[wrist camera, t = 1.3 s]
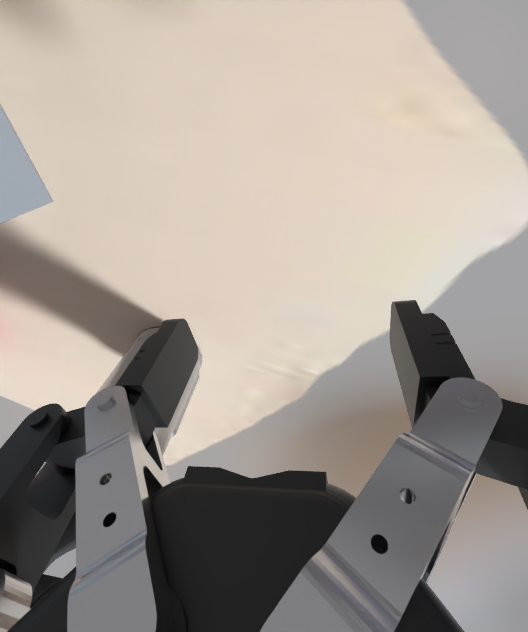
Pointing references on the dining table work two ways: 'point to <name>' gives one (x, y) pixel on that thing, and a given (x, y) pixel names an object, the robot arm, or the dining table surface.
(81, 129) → the dining table surface
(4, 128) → the stand
